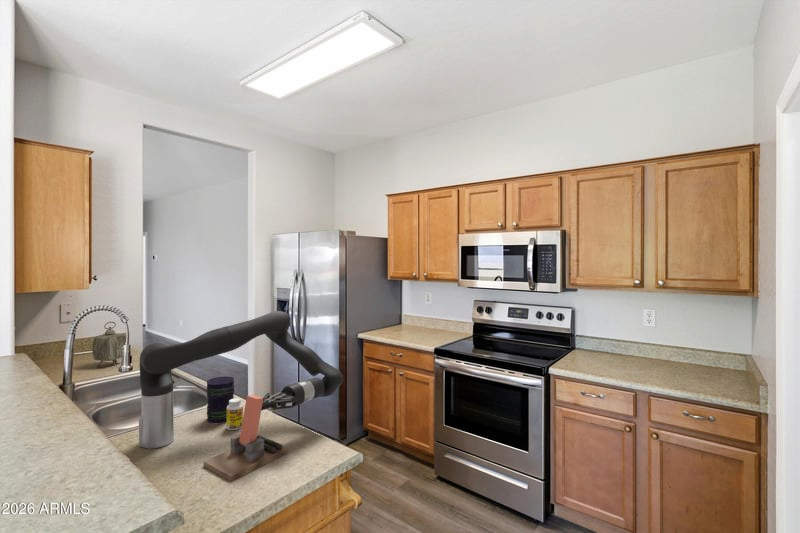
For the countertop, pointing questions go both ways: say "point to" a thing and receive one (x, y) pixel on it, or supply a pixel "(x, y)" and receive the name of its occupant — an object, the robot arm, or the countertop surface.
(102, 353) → the tabletop clock
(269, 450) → the switch board
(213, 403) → the storage jar
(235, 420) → the supplement bottle
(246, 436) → the lever
